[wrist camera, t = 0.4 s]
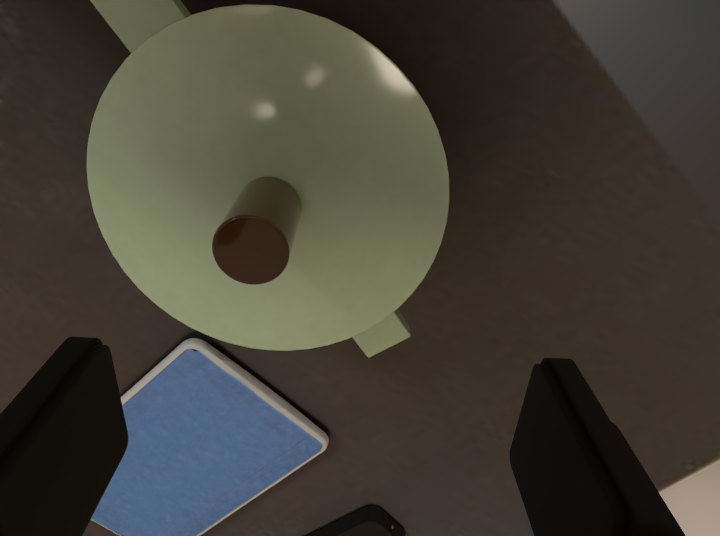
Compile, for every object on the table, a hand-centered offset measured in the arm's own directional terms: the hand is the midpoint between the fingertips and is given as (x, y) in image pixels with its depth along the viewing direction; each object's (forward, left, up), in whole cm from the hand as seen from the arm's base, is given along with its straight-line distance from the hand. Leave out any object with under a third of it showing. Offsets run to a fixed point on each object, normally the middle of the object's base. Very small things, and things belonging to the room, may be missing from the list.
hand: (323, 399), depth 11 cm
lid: (-2, -2, -10) cm, 10 cm away
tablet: (+11, -22, -18) cm, 30 cm away
